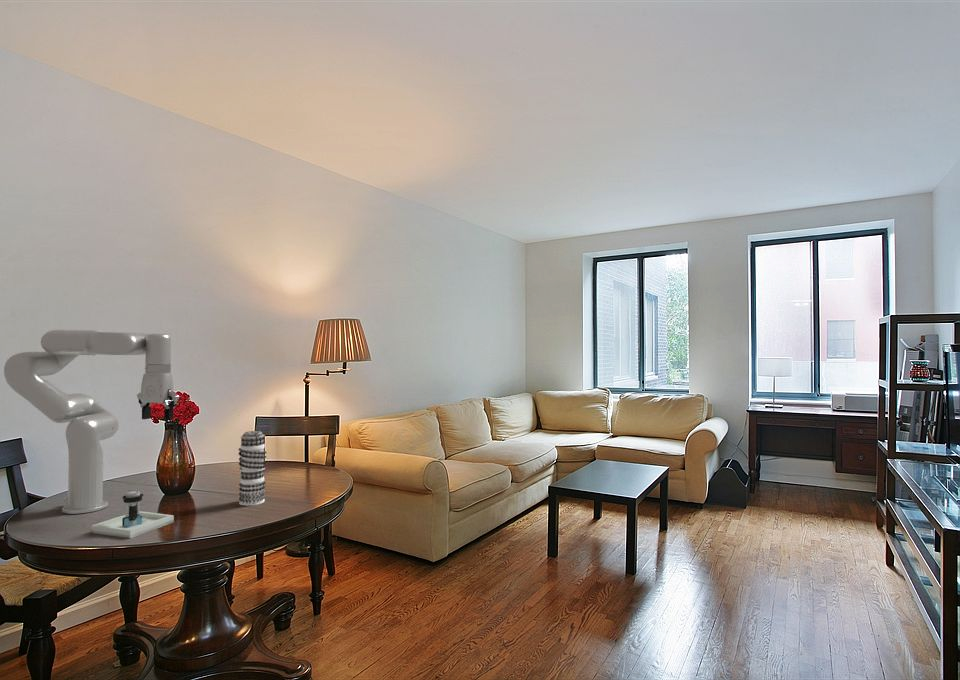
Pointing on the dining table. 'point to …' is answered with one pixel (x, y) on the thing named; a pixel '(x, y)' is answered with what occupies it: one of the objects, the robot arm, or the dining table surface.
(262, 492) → the decorative candle
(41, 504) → the dining table surface
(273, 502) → the dining table surface
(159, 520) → the tray
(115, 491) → the dining table surface
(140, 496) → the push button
